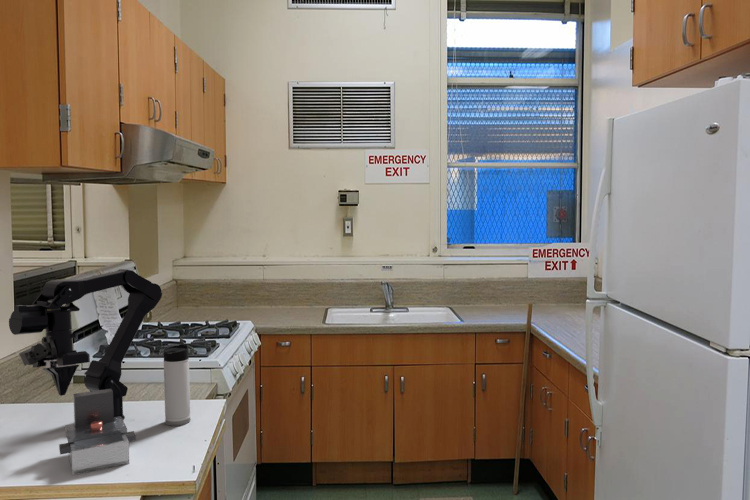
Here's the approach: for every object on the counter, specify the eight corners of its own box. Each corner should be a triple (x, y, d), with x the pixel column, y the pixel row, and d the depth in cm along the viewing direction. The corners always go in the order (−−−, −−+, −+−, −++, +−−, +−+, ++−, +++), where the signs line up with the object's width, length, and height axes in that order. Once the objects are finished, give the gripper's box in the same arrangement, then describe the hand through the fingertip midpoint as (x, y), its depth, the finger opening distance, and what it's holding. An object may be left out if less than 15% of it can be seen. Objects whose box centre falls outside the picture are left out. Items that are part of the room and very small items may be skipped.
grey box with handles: (59, 460, 128) (58, 438, 128) (132, 446, 136) (131, 425, 136) (61, 477, 120) (60, 453, 120) (139, 461, 128) (138, 439, 127)
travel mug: (196, 418, 155) (194, 344, 154) (180, 427, 149) (178, 349, 148) (176, 416, 157) (174, 343, 156) (160, 424, 151) (158, 348, 150)
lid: (65, 428, 133) (64, 395, 133) (120, 419, 139) (119, 387, 139) (68, 442, 125) (66, 406, 124) (127, 432, 131) (126, 397, 130)
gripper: (8, 336, 143) (10, 401, 141) (39, 331, 131) (42, 402, 130) (56, 332, 152) (59, 393, 150) (89, 327, 140) (92, 393, 138)
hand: (62, 395), depth 142 cm, fingers closed
